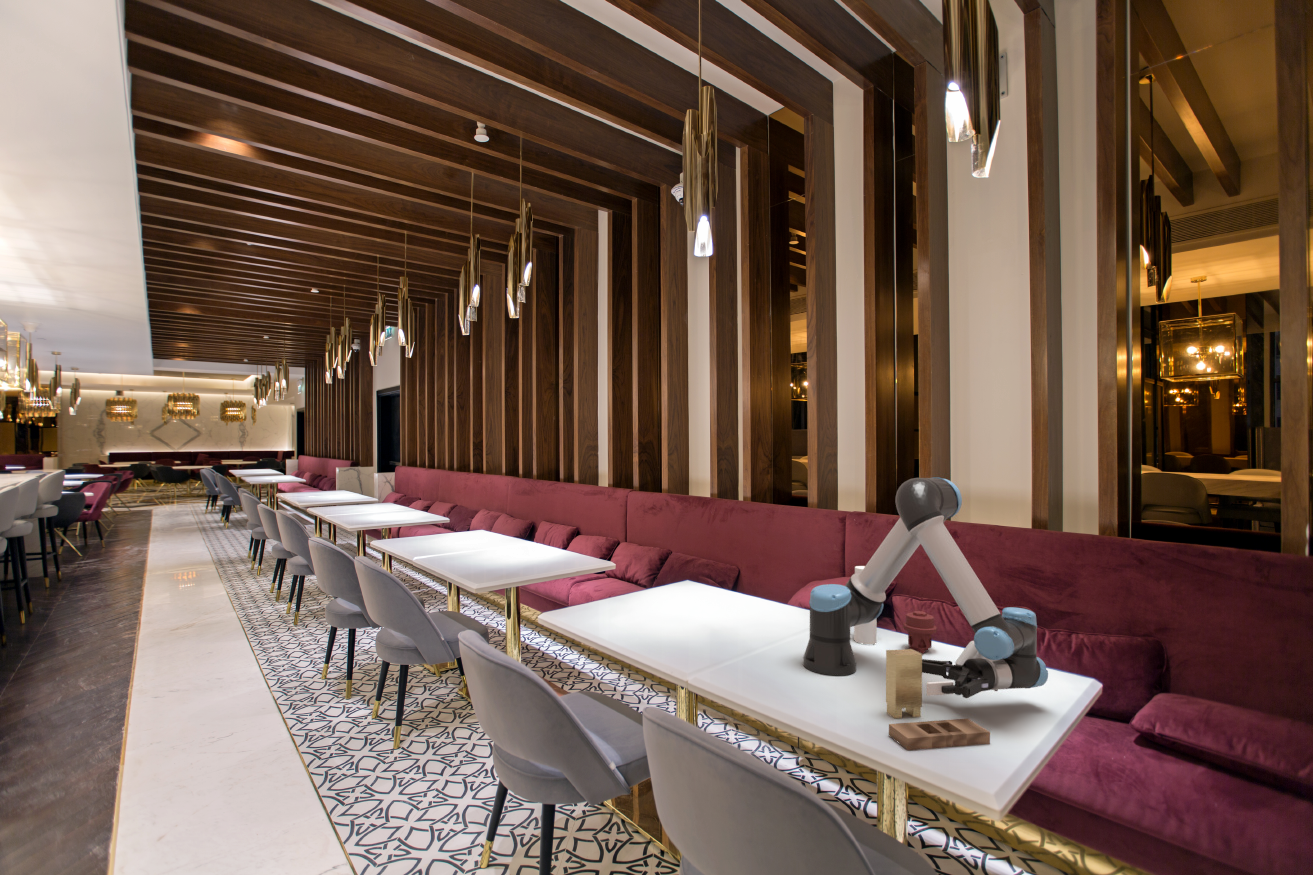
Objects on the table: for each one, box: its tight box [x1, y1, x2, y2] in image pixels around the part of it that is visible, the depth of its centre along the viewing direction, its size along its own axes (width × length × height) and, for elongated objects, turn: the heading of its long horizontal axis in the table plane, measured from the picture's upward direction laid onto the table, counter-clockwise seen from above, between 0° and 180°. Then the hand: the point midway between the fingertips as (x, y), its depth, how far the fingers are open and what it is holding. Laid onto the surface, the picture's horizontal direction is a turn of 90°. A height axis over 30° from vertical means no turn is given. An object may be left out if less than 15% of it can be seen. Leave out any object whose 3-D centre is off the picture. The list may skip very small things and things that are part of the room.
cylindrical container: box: [853, 565, 878, 645], centre depth 206 cm, size 7×7×25 cm
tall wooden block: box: [885, 648, 923, 719], centre depth 146 cm, size 7×4×15 cm, turn 101°
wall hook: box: [954, 640, 985, 665], centre depth 180 cm, size 8×10×10 cm
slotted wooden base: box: [888, 718, 991, 751], centre depth 133 cm, size 20×7×2 cm, turn 101°
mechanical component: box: [902, 610, 938, 655], centre depth 197 cm, size 12×10×10 cm
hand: (909, 678), depth 146 cm, fingers open, 13 cm apart
